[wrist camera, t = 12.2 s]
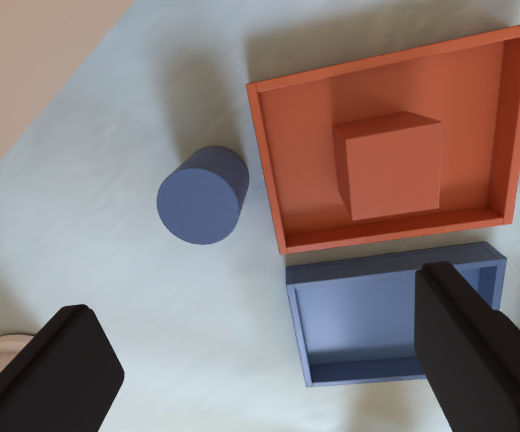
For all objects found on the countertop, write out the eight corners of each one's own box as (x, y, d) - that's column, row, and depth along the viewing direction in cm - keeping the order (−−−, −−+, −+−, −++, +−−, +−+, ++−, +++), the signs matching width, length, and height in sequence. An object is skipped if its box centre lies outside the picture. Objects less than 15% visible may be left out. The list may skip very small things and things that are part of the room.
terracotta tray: (280, 239, 26) (279, 255, 23) (249, 83, 21) (245, 84, 19) (490, 209, 23) (512, 223, 21) (511, 26, 19) (542, 19, 16)
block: (338, 192, 23) (351, 221, 19) (331, 125, 21) (344, 139, 17) (407, 181, 22) (439, 208, 18) (407, 110, 20) (443, 121, 16)
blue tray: (304, 365, 32) (306, 387, 29) (285, 267, 27) (285, 284, 25) (474, 351, 29) (490, 374, 27) (486, 241, 25) (507, 258, 22)
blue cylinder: (195, 212, 25) (171, 249, 20) (176, 152, 23) (144, 175, 18) (255, 202, 24) (247, 239, 19) (241, 139, 22) (228, 160, 17)
